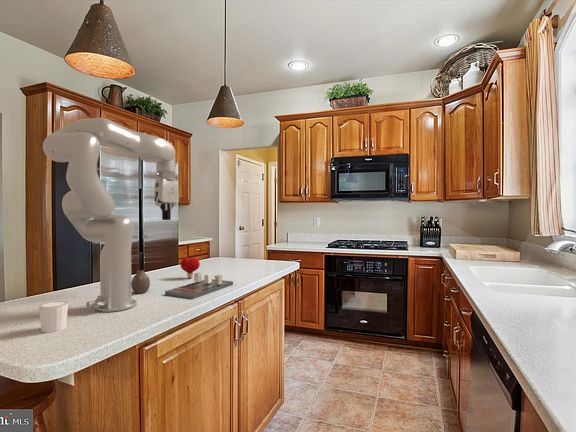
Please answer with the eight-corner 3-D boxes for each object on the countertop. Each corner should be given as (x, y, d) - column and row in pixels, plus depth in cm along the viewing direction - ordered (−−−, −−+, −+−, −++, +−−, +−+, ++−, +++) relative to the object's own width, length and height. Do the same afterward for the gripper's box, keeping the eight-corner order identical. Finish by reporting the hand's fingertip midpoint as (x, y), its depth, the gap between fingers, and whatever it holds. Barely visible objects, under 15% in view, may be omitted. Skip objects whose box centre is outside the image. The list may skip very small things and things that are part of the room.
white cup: (73, 324, 97) (73, 300, 97) (58, 333, 91) (58, 307, 90) (49, 324, 97) (49, 300, 97) (32, 333, 90) (32, 307, 90)
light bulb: (202, 277, 166) (201, 256, 166) (196, 280, 159) (196, 259, 159) (183, 276, 167) (183, 256, 167) (177, 279, 160) (177, 258, 160)
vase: (150, 293, 133) (149, 271, 133) (130, 295, 131) (130, 273, 131) (150, 289, 140) (150, 268, 140) (131, 291, 137) (131, 270, 137)
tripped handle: (208, 283, 142) (208, 274, 142) (204, 283, 143) (204, 274, 143) (211, 282, 145) (211, 274, 144) (208, 281, 145) (208, 273, 145)
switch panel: (193, 299, 125) (192, 284, 125) (164, 295, 131) (164, 280, 131) (233, 284, 149) (233, 272, 148) (207, 282, 155) (207, 269, 154)
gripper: (158, 174, 133) (159, 220, 134) (185, 177, 147) (185, 219, 147) (145, 175, 137) (145, 220, 137) (172, 178, 150) (172, 219, 150)
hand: (166, 219), depth 142 cm, fingers closed
